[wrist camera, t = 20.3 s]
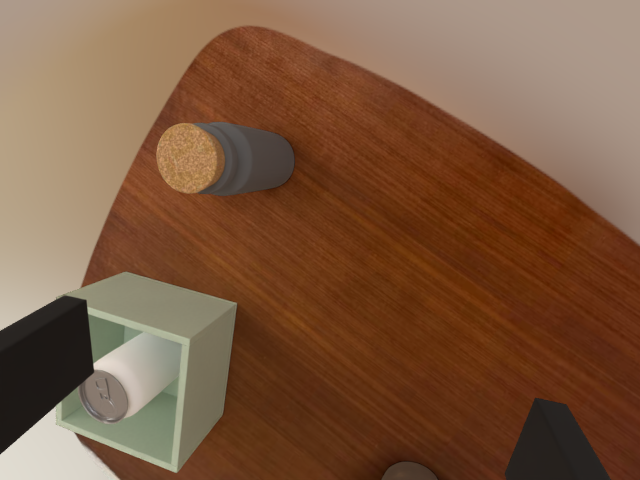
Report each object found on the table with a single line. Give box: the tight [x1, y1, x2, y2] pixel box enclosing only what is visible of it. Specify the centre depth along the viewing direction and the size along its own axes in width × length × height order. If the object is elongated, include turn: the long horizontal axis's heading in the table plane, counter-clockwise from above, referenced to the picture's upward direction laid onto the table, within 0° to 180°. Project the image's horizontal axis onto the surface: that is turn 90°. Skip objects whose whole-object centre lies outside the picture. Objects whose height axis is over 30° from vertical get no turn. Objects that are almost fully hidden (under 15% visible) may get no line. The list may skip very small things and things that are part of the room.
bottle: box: [156, 122, 295, 196], centre depth 33 cm, size 6×6×15 cm
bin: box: [56, 272, 237, 473], centre depth 43 cm, size 16×16×10 cm
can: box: [78, 332, 182, 424], centre depth 41 cm, size 6×6×12 cm
